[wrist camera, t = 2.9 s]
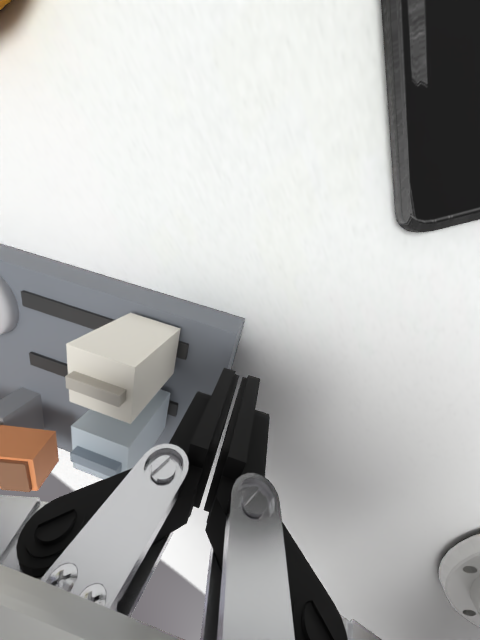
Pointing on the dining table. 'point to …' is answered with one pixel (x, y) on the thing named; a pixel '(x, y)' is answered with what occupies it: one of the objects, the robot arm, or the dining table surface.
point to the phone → (434, 110)
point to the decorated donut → (4, 3)
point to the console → (81, 318)
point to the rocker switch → (26, 457)
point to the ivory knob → (121, 365)
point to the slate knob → (117, 438)
